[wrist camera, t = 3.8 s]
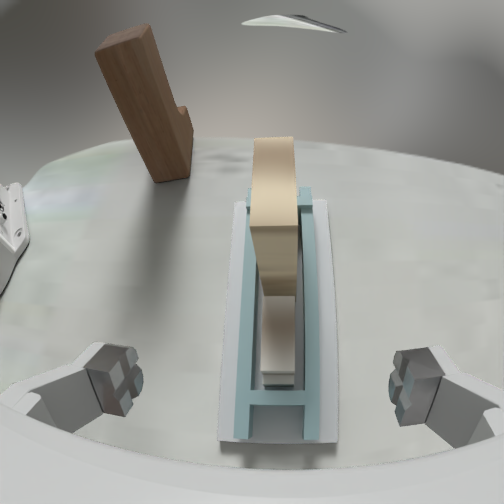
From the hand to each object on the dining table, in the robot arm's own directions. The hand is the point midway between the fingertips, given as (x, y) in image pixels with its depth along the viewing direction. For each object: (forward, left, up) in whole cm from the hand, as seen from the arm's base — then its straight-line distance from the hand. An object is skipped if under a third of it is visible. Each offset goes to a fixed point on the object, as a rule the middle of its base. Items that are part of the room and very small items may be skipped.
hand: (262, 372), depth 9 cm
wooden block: (-30, +1, -16) cm, 34 cm away
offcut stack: (-3, +2, -15) cm, 15 cm away
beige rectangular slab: (-10, +5, -15) cm, 19 cm away
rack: (-7, +4, -16) cm, 18 cm away
